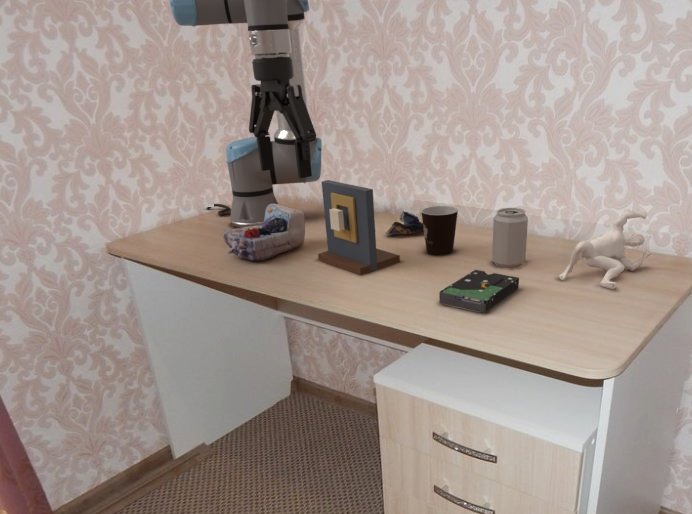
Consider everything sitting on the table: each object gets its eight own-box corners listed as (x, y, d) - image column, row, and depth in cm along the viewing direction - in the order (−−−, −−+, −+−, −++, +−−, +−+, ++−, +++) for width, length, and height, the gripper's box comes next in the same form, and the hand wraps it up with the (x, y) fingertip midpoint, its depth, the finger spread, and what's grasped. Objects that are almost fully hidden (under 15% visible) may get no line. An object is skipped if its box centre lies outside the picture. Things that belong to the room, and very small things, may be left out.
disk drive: (474, 281, 133) (438, 304, 122) (474, 269, 131) (438, 291, 121) (519, 290, 127) (486, 314, 117) (520, 276, 126) (486, 300, 116)
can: (526, 258, 144) (529, 206, 138) (523, 269, 138) (527, 215, 132) (494, 257, 146) (495, 205, 140) (489, 267, 140) (491, 214, 134)
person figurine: (608, 239, 119) (646, 202, 129) (549, 242, 127) (588, 208, 138) (619, 300, 124) (655, 260, 134) (562, 299, 133) (599, 262, 143)
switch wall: (360, 275, 139) (354, 193, 131) (318, 260, 150) (310, 183, 141) (400, 261, 146) (397, 183, 137) (357, 248, 157) (351, 174, 148)
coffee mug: (455, 257, 147) (455, 215, 142) (419, 256, 149) (418, 215, 144) (460, 242, 157) (460, 202, 152) (426, 242, 159) (426, 202, 154)
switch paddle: (339, 231, 139) (337, 211, 137) (331, 228, 142) (329, 209, 139) (344, 229, 140) (342, 210, 138) (335, 227, 142) (334, 208, 140)
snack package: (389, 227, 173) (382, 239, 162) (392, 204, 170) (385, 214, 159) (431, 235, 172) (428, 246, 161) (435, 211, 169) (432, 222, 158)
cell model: (309, 204, 154) (244, 224, 142) (314, 246, 160) (252, 269, 147) (275, 197, 162) (210, 216, 149) (281, 237, 167) (219, 259, 155)
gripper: (221, 58, 123) (238, 169, 133) (293, 56, 107) (306, 183, 117) (254, 56, 127) (268, 164, 138) (327, 54, 111) (338, 177, 121)
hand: (285, 173), depth 127 cm, fingers open, 13 cm apart
